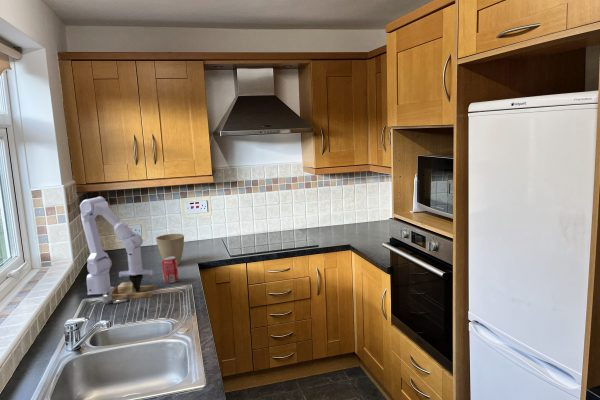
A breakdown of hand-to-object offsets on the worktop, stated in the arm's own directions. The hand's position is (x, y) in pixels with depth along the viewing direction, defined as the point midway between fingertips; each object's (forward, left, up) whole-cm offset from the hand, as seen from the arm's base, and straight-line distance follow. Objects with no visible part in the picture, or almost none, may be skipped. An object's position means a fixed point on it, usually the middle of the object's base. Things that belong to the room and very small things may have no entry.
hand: (137, 290), depth 206 cm
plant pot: (+7, +44, -2) cm, 44 cm away
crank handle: (-5, -9, -2) cm, 10 cm away
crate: (-5, 0, -2) cm, 5 cm away
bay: (-2, 0, -2) cm, 3 cm away
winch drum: (-10, -8, -2) cm, 13 cm away
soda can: (+12, +15, -2) cm, 19 cm away
